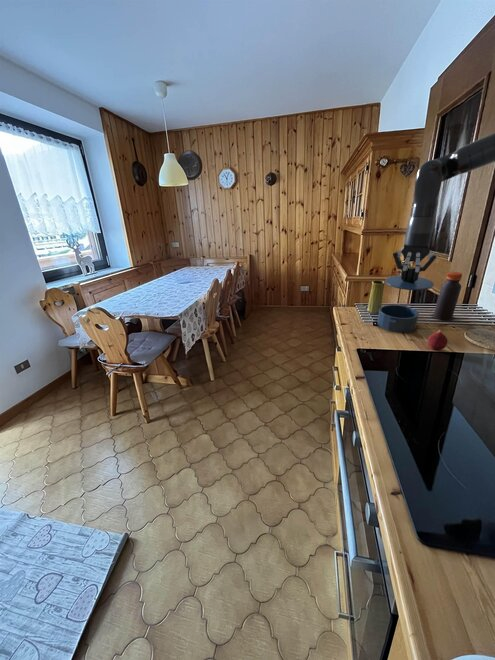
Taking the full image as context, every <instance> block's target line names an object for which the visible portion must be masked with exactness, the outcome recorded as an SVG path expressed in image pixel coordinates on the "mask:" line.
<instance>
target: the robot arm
mask: <svg viewBox="0 0 495 660" xmlns="http://www.w3.org/2000/svg"><path fill="white" fill-rule="evenodd" d="M493 163H495V132H493V133H491V134H487V135H486V136H483V137H481V138H479V139H477V140H475V141H472V142H470V143H468V144H465V145H463V146H461V147H459V148H458V149H456V150H455V151H453V152H450V153H448V154H446V155H443V156H441V157H438V158H436V159H429V160H427V161H424V163H423V164H421V166H419V168H418V169H417V172H416V175H415V181H414V192H413V201H412V205H411V210H410V215H409V219H408V222H407V226H406V231H405V237H404V242H403V246H402V248H401V250H398V251H394V252H393V253H392V257H393V259H394V262H395V265H396V268H397V270H401V275H400V276H401V280H403V281H404V282H405V279H406V274H407V269H408V267H410V266H409V265H410V263H411V262H413V263H415V267H414V268H415V272H414V276H413V280H412V282H413V283H415V281H417V280H418V277H420V273H421V272H425V271H427V270H428V268H429V267H430V266H431V264H432V263H434V261H435V260H436V259H437V257H438V254H437V253H433V252H431V249H430V245H431V241H432V236H433V232H434V229H435V223H436V215H437V212H438V211H437V210H438V206H439V195H440V190H441V187H442V183H443V182H444V181H448V180H450V179H452V178H454V177H456V176H459V175H462V174H466V173H469V172H472V171H475V170H477V169H480V168H482V167H485V166H488V165H490V164H493ZM402 256H403V259H404V263H403V262H402V260H401V257H402ZM427 256H428V257H427ZM426 257H427V262H425V264H424V265H423V266H422V260H424V259H425V258H426Z"/></svg>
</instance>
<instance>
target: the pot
mask: <svg viewBox="0 0 495 660" xmlns="http://www.w3.org/2000/svg"><path fill="white" fill-rule="evenodd" d="M418 319H419V312H418V310H417V309H414V308H412V307H409V306H407V305H406V304H386V305H383V306H381V308H380V309H379V313H378V316H377V325H378V326H379V327H380V328H382V329H384V330H387V331H391V332H395V333H408V332H413V331H414V330H415V329H416V327H417V324H418Z"/></svg>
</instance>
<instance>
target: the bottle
mask: <svg viewBox="0 0 495 660" xmlns="http://www.w3.org/2000/svg"><path fill="white" fill-rule="evenodd" d="M462 277H463V273H461V272H459V271H458V272H457V271H449V272H447V274H446V281H445V282H442V284H441V287H440V290H439V294H438V298H437V301H436V304H435V305H436V306H435V309H434V313H433V318H434V319H436V320H439V321H443V322H445V321H446V322H449V321H452V320H453V316H454V314H455V309H456V307H457V303H458V301H459V296H460V295H461V294H460V293H461V290H462V284H461V283H460V282H461V280H462Z"/></svg>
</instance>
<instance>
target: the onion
mask: <svg viewBox="0 0 495 660" xmlns="http://www.w3.org/2000/svg"><path fill="white" fill-rule="evenodd" d="M448 343H449V342H448V337H447V335H445V334H444V333H443V331H442V330H441V329H439V330H438V331H437V332H434V333H431V335H429V337H428V338H427V345H428V347H429V348H430V349H431V350H433V351H441V350H443V349H445V348H446V347H447V345H448Z"/></svg>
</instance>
